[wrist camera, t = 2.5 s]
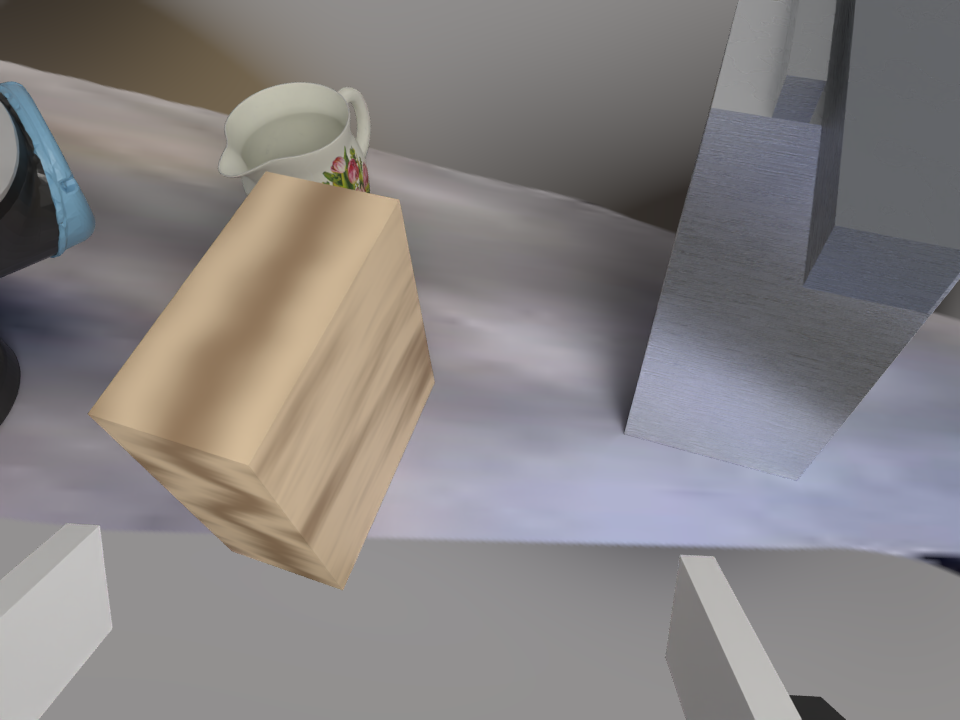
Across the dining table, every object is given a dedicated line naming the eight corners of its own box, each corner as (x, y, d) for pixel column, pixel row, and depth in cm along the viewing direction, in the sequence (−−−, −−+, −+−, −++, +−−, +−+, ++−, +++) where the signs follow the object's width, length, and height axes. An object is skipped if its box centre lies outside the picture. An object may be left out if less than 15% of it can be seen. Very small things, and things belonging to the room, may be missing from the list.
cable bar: (802, 287, 24) (834, 225, 22) (843, -53, 37) (866, -117, 34) (927, 313, 23) (975, 252, 21) (925, -44, 36) (956, -109, 33)
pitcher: (423, 183, 72) (404, 62, 60) (324, 309, 63) (281, 195, 52) (334, 154, 75) (301, 34, 63) (229, 270, 66) (169, 155, 55)
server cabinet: (624, 434, 55) (722, 65, 28) (656, 308, 61) (760, -86, 35) (799, 481, 52) (1093, 121, 25) (813, 344, 59) (1058, -55, 32)
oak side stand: (232, 551, 51) (87, 413, 34) (337, 356, 60) (265, 171, 43) (342, 590, 49) (248, 465, 32) (434, 382, 58) (399, 199, 41)
